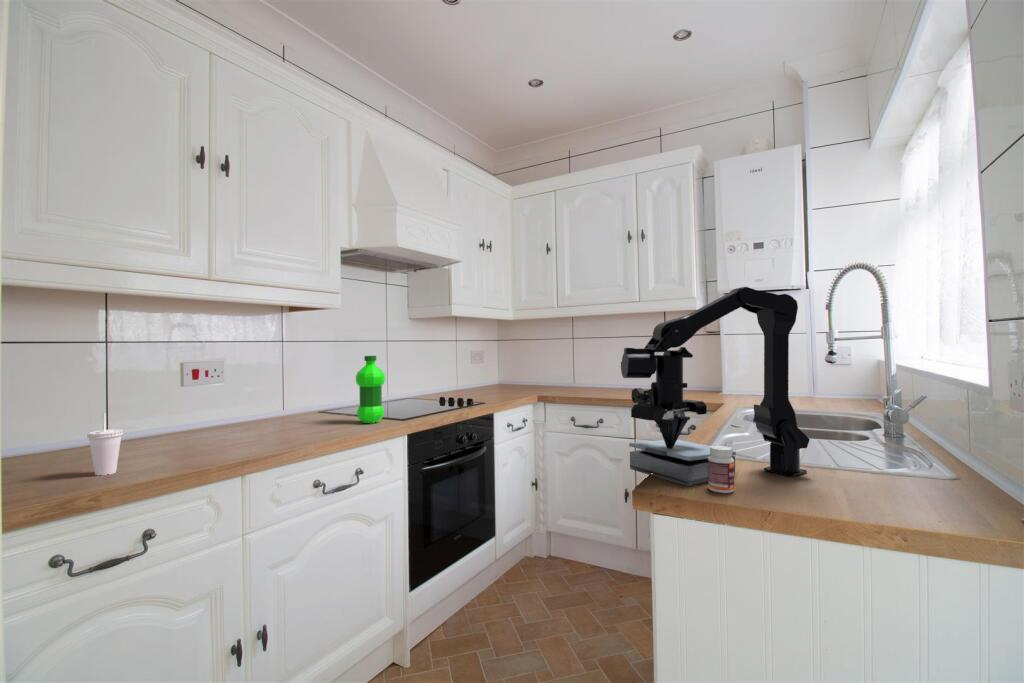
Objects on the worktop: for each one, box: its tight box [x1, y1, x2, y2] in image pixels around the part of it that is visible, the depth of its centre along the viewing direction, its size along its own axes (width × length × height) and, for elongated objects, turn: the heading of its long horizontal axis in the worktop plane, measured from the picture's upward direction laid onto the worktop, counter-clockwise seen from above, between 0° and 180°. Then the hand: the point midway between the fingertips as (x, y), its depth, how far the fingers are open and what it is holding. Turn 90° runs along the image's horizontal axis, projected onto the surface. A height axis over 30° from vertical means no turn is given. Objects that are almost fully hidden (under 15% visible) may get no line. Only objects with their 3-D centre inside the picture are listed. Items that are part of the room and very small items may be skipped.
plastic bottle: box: [355, 355, 386, 424], centre depth 178 cm, size 10×10×25 cm
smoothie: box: [86, 412, 124, 477], centre depth 110 cm, size 6×6×14 cm
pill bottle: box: [707, 445, 735, 494], centre depth 95 cm, size 5×5×8 cm
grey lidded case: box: [629, 449, 736, 487], centre depth 108 cm, size 16×16×4 cm
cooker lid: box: [628, 439, 737, 461], centre depth 108 cm, size 17×16×1 cm
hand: (669, 448), depth 106 cm, fingers closed, pressing on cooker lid
